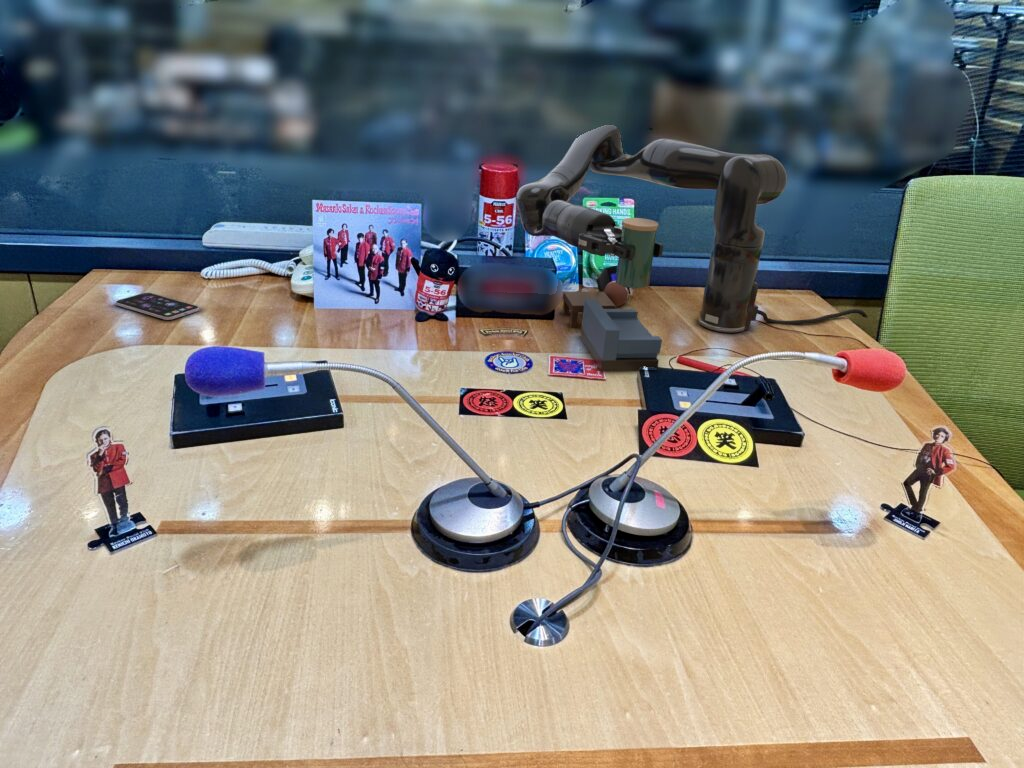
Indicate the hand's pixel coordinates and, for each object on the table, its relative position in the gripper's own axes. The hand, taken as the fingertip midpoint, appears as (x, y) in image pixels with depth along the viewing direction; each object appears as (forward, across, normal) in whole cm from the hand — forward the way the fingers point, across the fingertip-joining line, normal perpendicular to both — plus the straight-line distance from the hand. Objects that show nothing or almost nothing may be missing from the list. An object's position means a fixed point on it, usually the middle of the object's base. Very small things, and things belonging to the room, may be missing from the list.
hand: (646, 252), depth 120 cm
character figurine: (-24, +16, +19) cm, 35 cm away
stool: (-18, +4, +19) cm, 27 cm away
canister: (-2, 0, +6) cm, 6 cm away
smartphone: (-57, -69, +19) cm, 92 cm away
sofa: (-2, -2, +19) cm, 19 cm away
